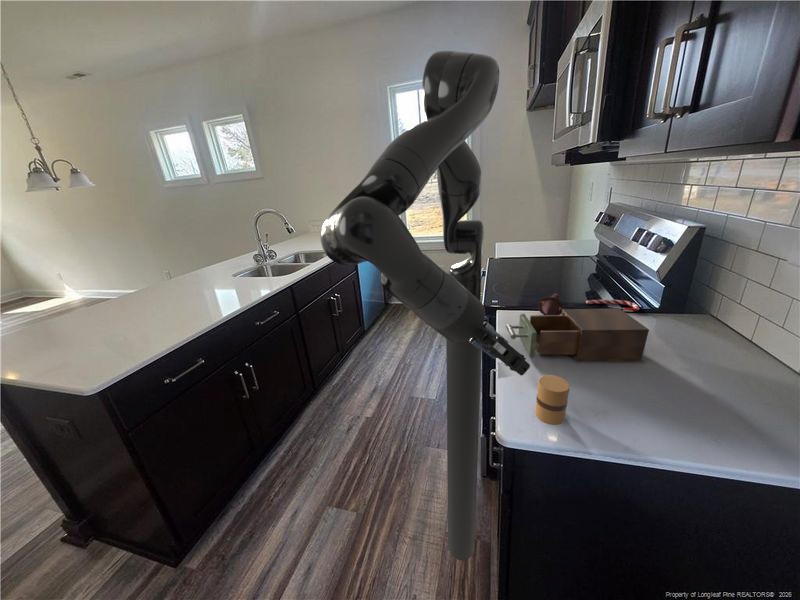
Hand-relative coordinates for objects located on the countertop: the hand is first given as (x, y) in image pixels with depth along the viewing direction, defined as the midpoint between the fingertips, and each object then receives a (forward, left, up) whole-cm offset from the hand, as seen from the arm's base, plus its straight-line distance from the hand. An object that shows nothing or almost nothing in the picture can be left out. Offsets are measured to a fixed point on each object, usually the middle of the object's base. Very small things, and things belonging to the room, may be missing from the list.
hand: (507, 356), depth 53 cm
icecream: (+25, +50, -16) cm, 58 cm away
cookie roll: (+10, +4, -16) cm, 19 cm away
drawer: (+16, +30, -15) cm, 37 cm away
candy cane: (+47, +57, -16) cm, 76 cm away
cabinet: (+30, +30, -16) cm, 45 cm away
